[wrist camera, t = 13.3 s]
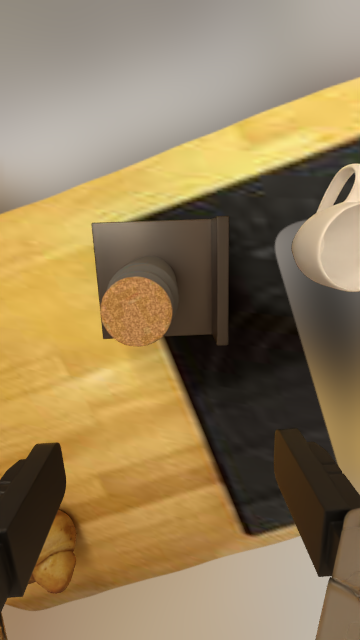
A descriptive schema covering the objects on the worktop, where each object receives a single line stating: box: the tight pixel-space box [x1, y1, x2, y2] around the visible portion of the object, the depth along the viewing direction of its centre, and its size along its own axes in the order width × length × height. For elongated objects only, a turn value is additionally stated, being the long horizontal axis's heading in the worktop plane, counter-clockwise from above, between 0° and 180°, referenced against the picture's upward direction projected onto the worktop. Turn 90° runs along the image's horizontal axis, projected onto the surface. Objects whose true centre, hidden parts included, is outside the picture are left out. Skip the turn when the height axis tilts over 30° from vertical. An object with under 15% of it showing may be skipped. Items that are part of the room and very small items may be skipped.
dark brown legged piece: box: [92, 216, 229, 345], centre depth 35 cm, size 14×13×9 cm
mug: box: [292, 164, 360, 292], centre depth 33 cm, size 12×8×11 cm
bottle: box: [101, 256, 179, 346], centre depth 27 cm, size 6×6×15 cm
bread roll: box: [28, 510, 77, 593], centre depth 45 cm, size 13×10×8 cm
